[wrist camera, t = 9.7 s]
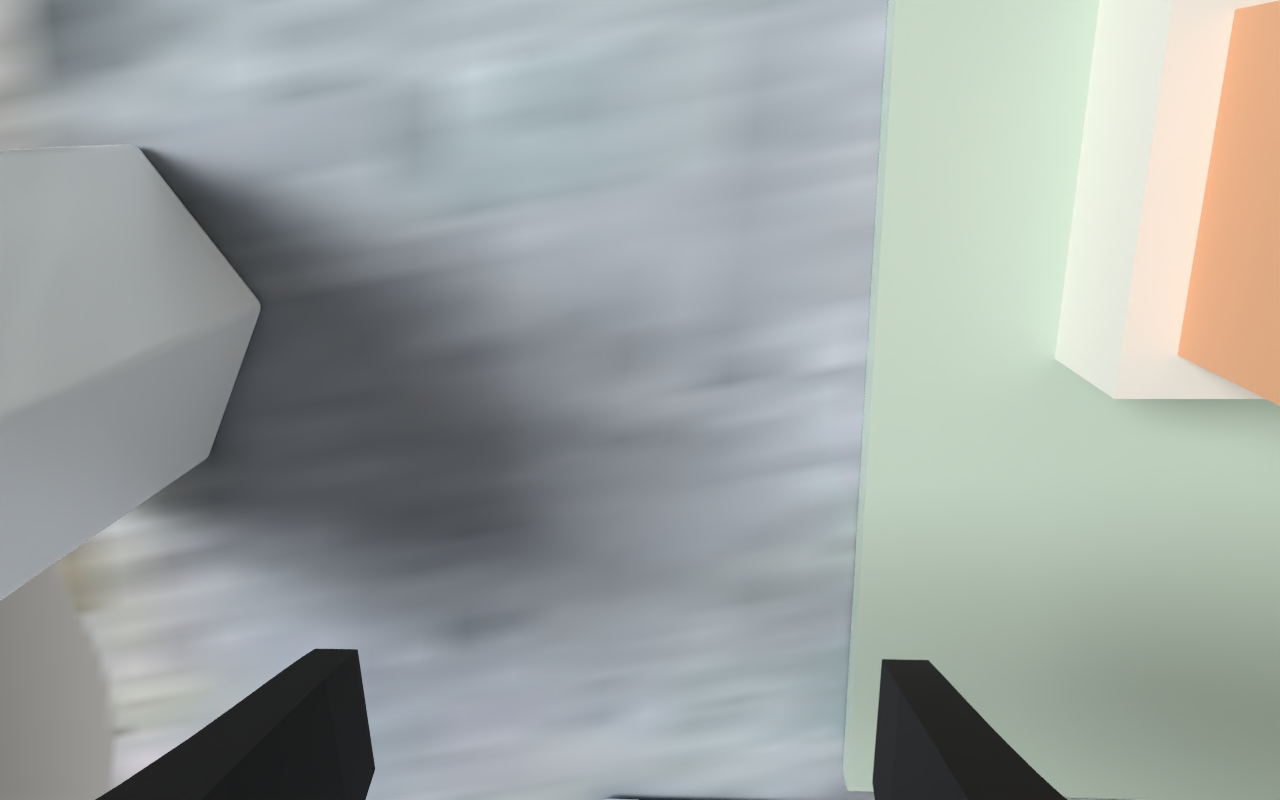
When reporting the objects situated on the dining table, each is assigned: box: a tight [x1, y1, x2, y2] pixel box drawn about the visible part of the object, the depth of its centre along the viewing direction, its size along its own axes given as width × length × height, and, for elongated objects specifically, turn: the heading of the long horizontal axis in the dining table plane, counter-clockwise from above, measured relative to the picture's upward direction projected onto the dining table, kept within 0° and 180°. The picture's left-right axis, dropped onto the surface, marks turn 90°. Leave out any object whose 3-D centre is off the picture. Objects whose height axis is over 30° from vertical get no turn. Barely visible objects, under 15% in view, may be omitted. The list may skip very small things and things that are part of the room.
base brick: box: [1055, 0, 1279, 399], centre depth 17 cm, size 8×6×3 cm
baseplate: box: [843, 0, 1280, 800], centre depth 20 cm, size 22×16×1 cm
